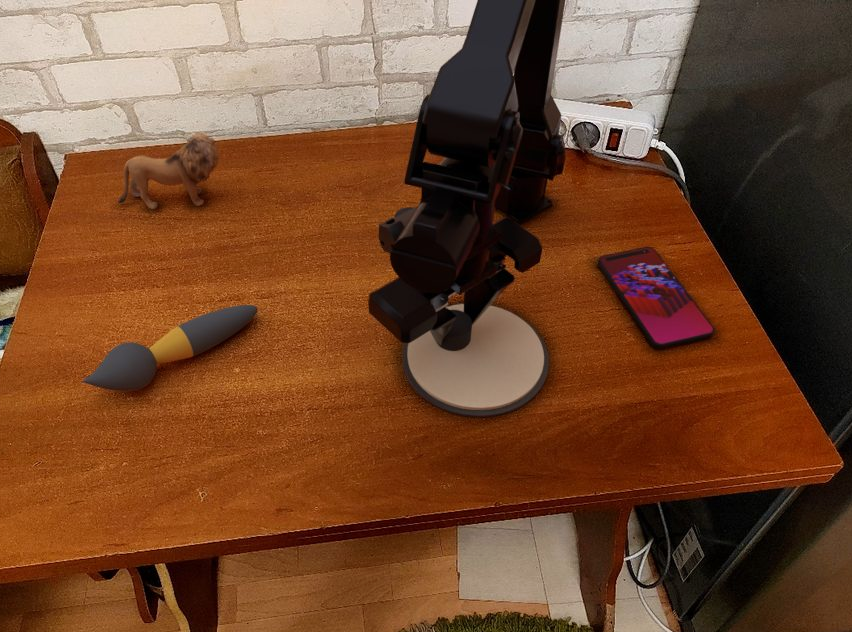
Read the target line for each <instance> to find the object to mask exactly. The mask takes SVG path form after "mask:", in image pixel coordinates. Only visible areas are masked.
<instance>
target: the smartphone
mask: <svg viewBox="0 0 852 632" xmlns="http://www.w3.org/2000/svg"><path fill="white" fill-rule="evenodd" d="M597 266H598V267H599V269H600V270H601V271H602V273H603V275H604V277H605V278H606V279H607V281H608V282H609V284H610V285H611V287H612V288H613V290H614V292H615V293H616V294H617V297H619V299H620V300H621V302H622V303H623V305H624V306H625V308H626V309H627V311H628V312H629V314H630V315H631V317H632V319H633V320H634V322H635V323H636V324H637V326H638V328H639V329H640V330H641V332H642V334H643V335H644V336H645V338H646V339H647V341H648V342H649V344H650V345H651V346H652V347H653V348H655V349H656V350H657V349H658V350H663V349H668V348H672V347H675V346H681V345H684V344H688V343H693V342H697V341H702V340H707V339H709V338H712V337H713V336H714V334H715V330H716V329H715V327H714V326H713V324H712V323H711V322H710V321H709V319H708V317H706V315H705V313H704V312H703V311H702V310H701V308H700V307H699V306H698V304H697V303H696V302H695V300H694V299H693V297H692V296H691V295H690V294H689V293H688V291H687V290H686V289H685V287H684V286H683V285H682V283H681V282H680V280H679V279H678V278H677V276H676V275H675V274H674V273H673V272H672V270H671V269H670V267H669V265H667V263H666V262H665V261H664V259H663V258H662V257H661V255H660V254H659V253H658V252H657V250H656V249H655V248H653V247H651V246H643V247H638V248H634V249H627V250H623V251H619V252H614V253H610V254H603V255H600V256H599V258H598V259H597Z"/></svg>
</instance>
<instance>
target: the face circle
mask: <svg viewBox="0 0 852 632" xmlns="http://www.w3.org/2000/svg"><path fill="white" fill-rule="evenodd" d="M447 308H448V309H449V310H460V311H462V312H464V302H462V303H461V302H460V303H454V304H450V305H449V304H448V305H447ZM401 362H402V368H403V372H404V374H405V375H404V376H405V377H406V379H407V381H408V383H409V384H410V385H411V388H413V390H414V391H415V392H416V393H417V394H418V395H419V396H420V397H421V398H422V399H424V401H426V402H427V403H429V404H430V405H432V406H433V407H436V408H438V409H440V410H441V411H444V412H447V413H449V414H453V415H456V416H460V417H467V418H491V417H492V418H493V417H498V416H503V415H505V414H508V413H511V412H515V411H516V410H519V409H521V408H523V406H526V405H527V404H528V403H529V402H531V401H532V400H533V399H534V398H535V397H536V396H537V395H538V394H539V392H541V390H542V388H543V386H544V385H545V383H546V380H547V378H548V374H549V369H550V357H549V352H548V348H547V345H546V343H545V341H544V339H543V338H542V336H541V334H540V333H539V332H538V330H537V328H535V327H534V326H533V325H532V324H531V323H530V322H528V321H527V320H526V319H525V318H523V317H522V316H521V315H519V314H517V313H515V312H513V311H512V310H509V309H507V308H504V307H500V306H498V305H494V304H491V305H490V306H489V307H488V308H487V309H486V311H485V312H484V313H483V314H482V315H481V316H480V317H479V319H478V320H477V321H476V322H475V323H474V324H473V325H472V332H471V341H470V343H469V344H468V346H467V347H465V348H464V349H462V350H458V351H449V350H445V349H443V348H441V347H440V346H439V345H438V344H437V343H436V341H435V340H434V338H433V336H432V334H431V332H430V331H429V332H427V333H425V334H424V335H422V336H420V337H419V338H417V339H416V340H414V341H412V342H411V343H403V345H402V350H401Z"/></svg>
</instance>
